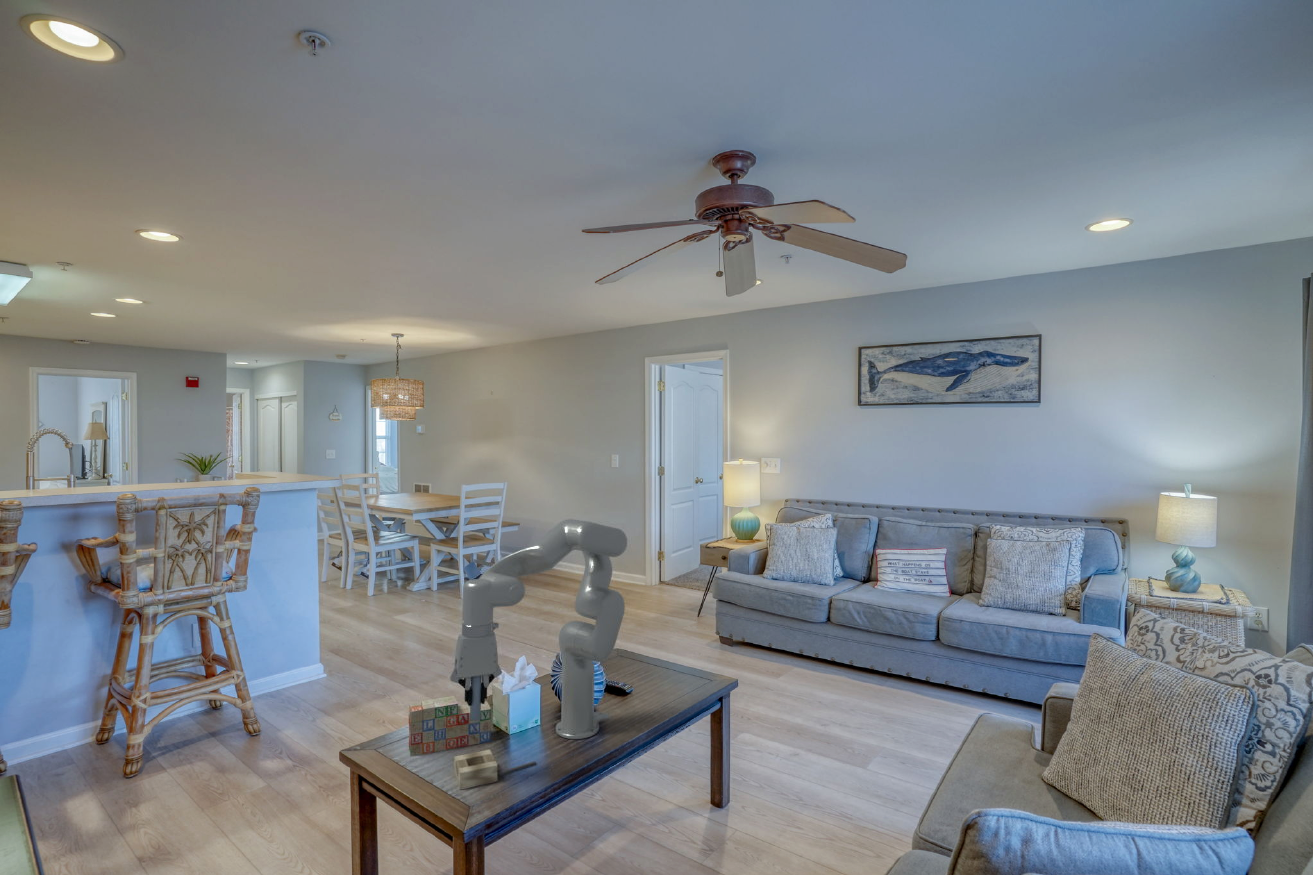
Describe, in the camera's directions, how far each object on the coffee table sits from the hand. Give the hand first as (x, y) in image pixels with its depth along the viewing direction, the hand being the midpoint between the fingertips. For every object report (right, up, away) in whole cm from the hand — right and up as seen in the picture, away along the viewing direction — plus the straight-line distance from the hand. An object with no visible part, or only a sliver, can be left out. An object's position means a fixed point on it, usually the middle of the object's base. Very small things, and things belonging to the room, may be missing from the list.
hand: (475, 702), depth 160 cm
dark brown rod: (+10, -19, +4) cm, 22 cm away
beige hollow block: (0, -19, 0) cm, 19 cm away
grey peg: (0, -4, 0) cm, 4 cm away
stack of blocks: (-12, -19, +17) cm, 28 cm away
